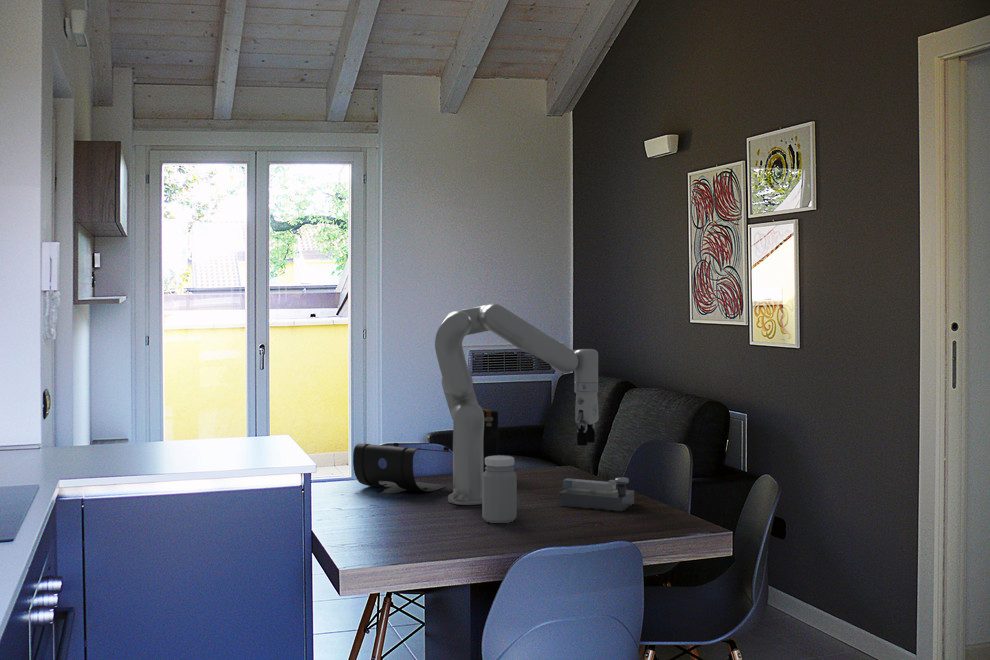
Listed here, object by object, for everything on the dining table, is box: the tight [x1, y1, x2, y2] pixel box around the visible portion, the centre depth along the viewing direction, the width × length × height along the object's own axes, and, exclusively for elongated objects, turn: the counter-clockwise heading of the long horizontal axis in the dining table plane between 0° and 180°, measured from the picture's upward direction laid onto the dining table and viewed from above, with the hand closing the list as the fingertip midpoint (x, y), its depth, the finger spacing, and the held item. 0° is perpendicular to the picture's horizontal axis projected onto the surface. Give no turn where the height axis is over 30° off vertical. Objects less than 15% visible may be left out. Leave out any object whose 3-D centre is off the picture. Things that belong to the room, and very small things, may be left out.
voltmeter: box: [481, 407, 499, 473], centre depth 324 cm, size 16×9×25 cm, turn 25°
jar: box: [481, 454, 518, 524], centre depth 255 cm, size 10×10×18 cm
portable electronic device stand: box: [352, 442, 452, 495], centre depth 304 cm, size 26×24×16 cm
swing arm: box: [562, 476, 630, 492], centre depth 278 cm, size 4×20×4 cm, turn 65°
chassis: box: [558, 483, 635, 512], centre depth 278 cm, size 13×20×7 cm, turn 65°
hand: (586, 443), depth 286 cm, fingers open, 6 cm apart
